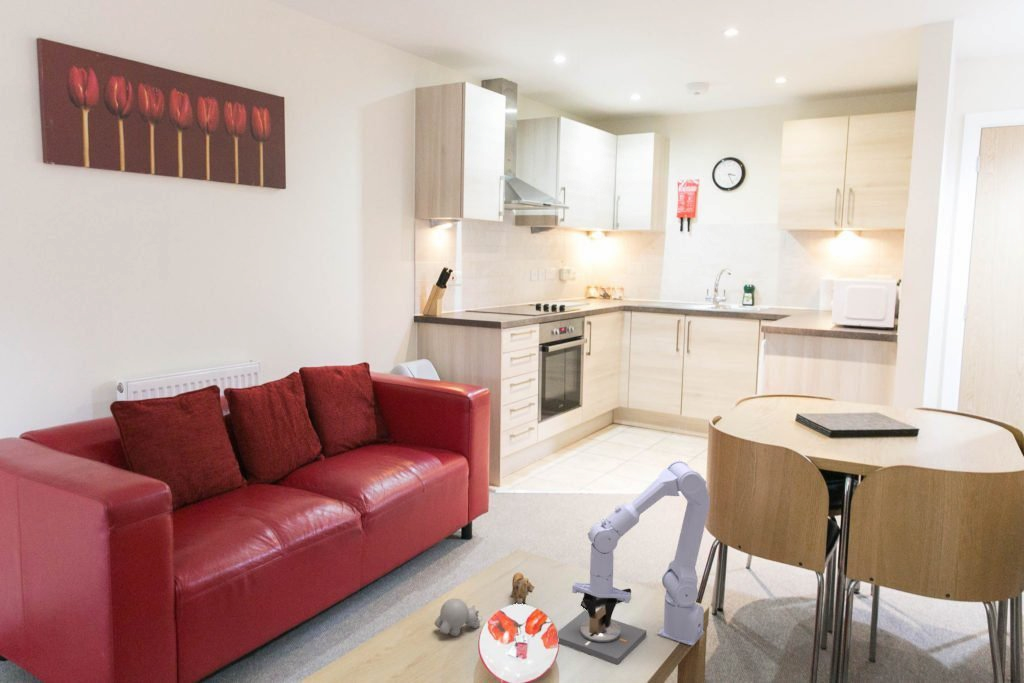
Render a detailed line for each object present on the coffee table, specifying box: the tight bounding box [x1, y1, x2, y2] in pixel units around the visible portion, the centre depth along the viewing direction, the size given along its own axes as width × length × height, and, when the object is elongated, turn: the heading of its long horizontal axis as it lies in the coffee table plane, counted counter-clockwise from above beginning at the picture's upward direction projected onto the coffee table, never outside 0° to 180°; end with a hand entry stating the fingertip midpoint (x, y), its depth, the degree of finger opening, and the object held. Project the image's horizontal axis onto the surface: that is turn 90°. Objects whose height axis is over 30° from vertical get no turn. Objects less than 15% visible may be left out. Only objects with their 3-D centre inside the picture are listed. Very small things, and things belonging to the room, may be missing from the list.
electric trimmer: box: [580, 588, 632, 611], centre depth 202 cm, size 4×16×3 cm, turn 116°
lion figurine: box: [510, 572, 536, 605], centre depth 202 cm, size 15×5×9 cm, turn 14°
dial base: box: [557, 609, 648, 665], centre depth 183 cm, size 18×16×2 cm
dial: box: [580, 605, 620, 642], centre depth 182 cm, size 10×10×5 cm
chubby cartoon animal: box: [434, 597, 483, 637], centre depth 186 cm, size 7×12×8 cm, turn 114°
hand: (600, 623), depth 183 cm, fingers closed on dial, 3 cm apart
